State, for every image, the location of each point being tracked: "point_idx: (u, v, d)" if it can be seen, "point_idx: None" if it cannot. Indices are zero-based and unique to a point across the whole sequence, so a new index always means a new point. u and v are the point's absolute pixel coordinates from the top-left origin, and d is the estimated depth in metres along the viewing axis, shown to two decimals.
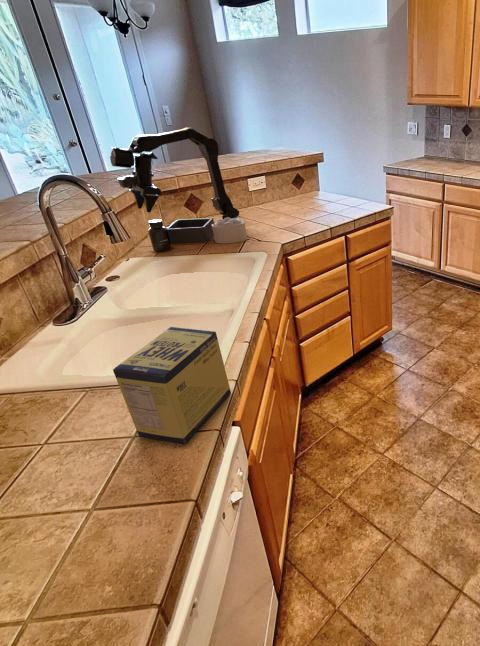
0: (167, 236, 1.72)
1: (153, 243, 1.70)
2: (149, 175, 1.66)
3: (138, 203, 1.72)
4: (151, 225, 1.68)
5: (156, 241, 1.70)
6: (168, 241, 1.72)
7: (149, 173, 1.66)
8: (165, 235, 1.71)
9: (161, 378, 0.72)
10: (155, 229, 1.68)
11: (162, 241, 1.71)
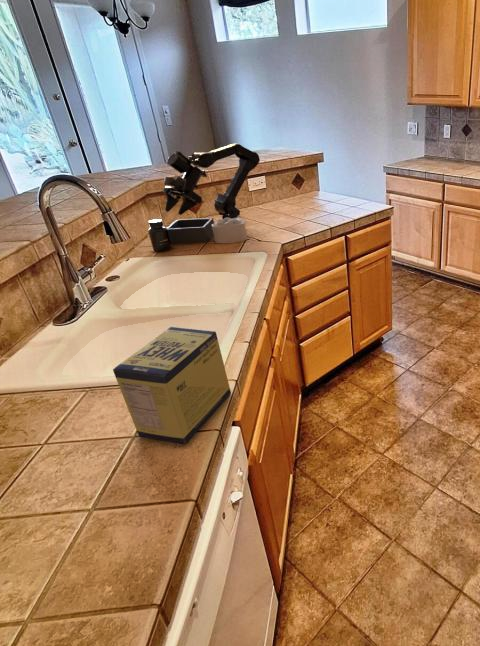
0: (167, 236, 1.72)
1: (153, 243, 1.70)
2: (194, 186, 1.77)
3: (167, 206, 1.77)
4: (151, 225, 1.68)
5: (156, 241, 1.70)
6: (168, 241, 1.72)
7: (195, 184, 1.77)
8: (165, 235, 1.71)
9: (161, 378, 0.72)
10: (155, 229, 1.68)
11: (162, 241, 1.71)
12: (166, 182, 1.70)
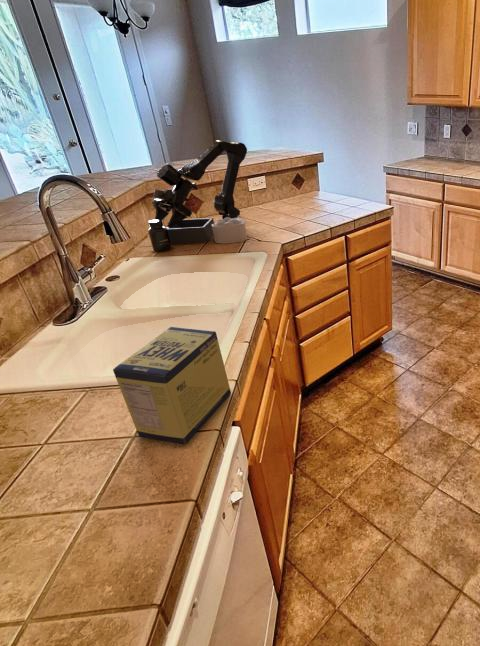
0: (167, 236, 1.72)
1: (153, 243, 1.70)
2: (184, 198, 1.75)
3: (157, 219, 1.74)
4: (151, 225, 1.68)
5: (156, 241, 1.70)
6: (168, 241, 1.72)
7: (185, 197, 1.75)
8: (165, 235, 1.71)
9: (161, 378, 0.72)
10: (155, 229, 1.68)
11: (162, 241, 1.71)
12: (155, 195, 1.67)
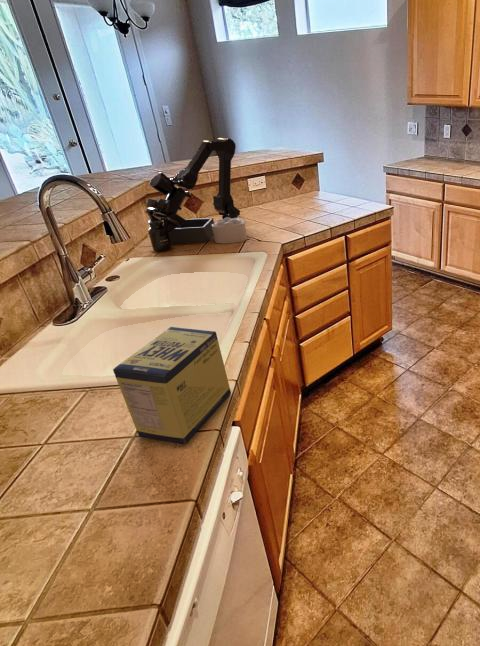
0: (167, 236, 1.72)
1: (153, 243, 1.70)
2: (178, 207, 1.73)
3: None
4: (151, 225, 1.68)
5: (156, 241, 1.70)
6: (168, 241, 1.72)
7: (178, 206, 1.73)
8: (165, 235, 1.71)
9: (161, 378, 0.72)
10: (155, 229, 1.68)
11: (162, 241, 1.71)
12: (148, 204, 1.66)
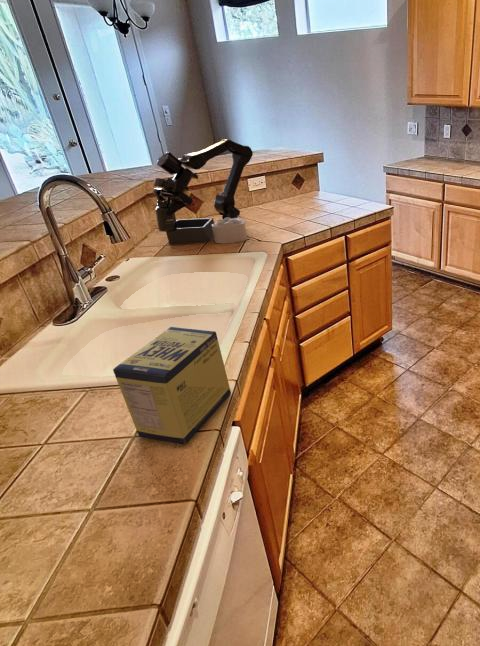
0: (174, 216, 1.73)
1: (159, 222, 1.70)
2: (185, 187, 1.74)
3: None
4: (159, 203, 1.69)
5: (163, 220, 1.70)
6: (174, 222, 1.73)
7: (186, 186, 1.74)
8: (172, 214, 1.71)
9: (161, 378, 0.72)
10: (163, 208, 1.69)
11: (169, 221, 1.71)
12: (156, 183, 1.67)
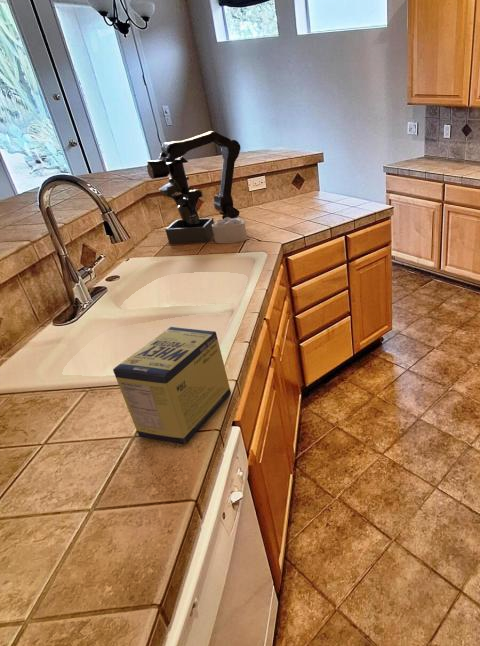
0: (195, 211, 1.82)
1: (183, 219, 1.81)
2: (185, 179, 1.76)
3: None
4: (179, 202, 1.79)
5: (186, 217, 1.80)
6: (196, 216, 1.83)
7: (185, 177, 1.76)
8: None
9: (161, 378, 0.72)
10: (183, 205, 1.79)
11: (192, 217, 1.81)
12: (164, 194, 1.73)
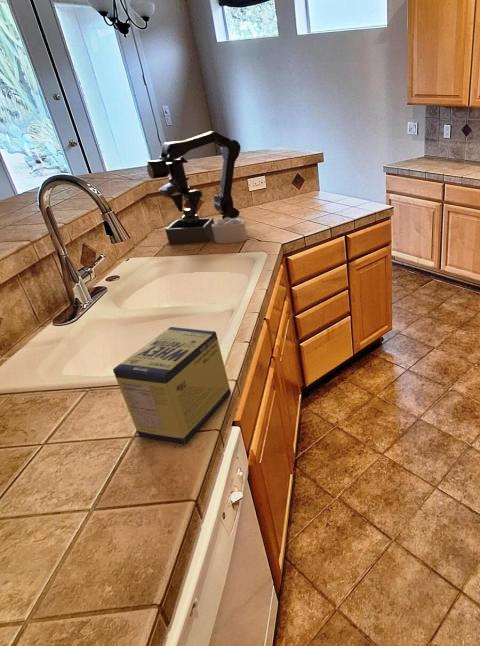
0: (199, 223, 1.85)
1: None
2: (185, 179, 1.76)
3: (178, 207, 1.84)
4: (185, 213, 1.81)
5: None
6: None
7: (185, 177, 1.76)
8: (197, 222, 1.84)
9: (161, 378, 0.72)
10: (188, 217, 1.81)
11: None
12: (164, 194, 1.73)
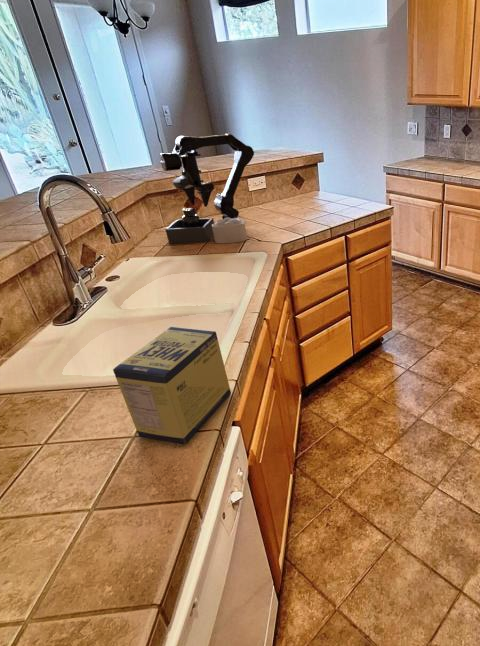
0: (199, 223, 1.85)
1: None
2: (198, 172, 1.80)
3: (191, 199, 1.88)
4: (185, 213, 1.81)
5: None
6: None
7: (197, 170, 1.80)
8: (197, 222, 1.84)
9: (161, 378, 0.72)
10: (188, 216, 1.82)
11: None
12: (177, 187, 1.77)
